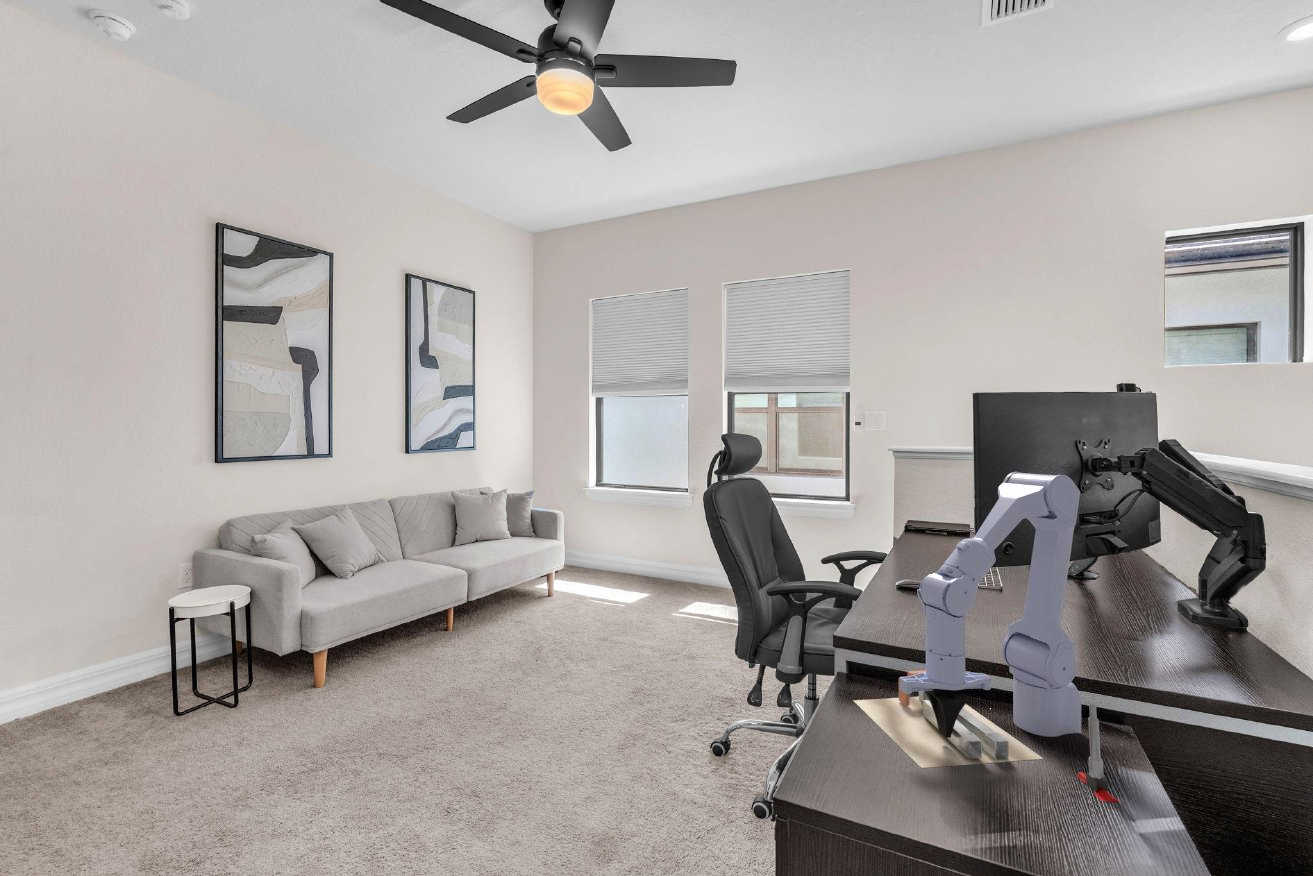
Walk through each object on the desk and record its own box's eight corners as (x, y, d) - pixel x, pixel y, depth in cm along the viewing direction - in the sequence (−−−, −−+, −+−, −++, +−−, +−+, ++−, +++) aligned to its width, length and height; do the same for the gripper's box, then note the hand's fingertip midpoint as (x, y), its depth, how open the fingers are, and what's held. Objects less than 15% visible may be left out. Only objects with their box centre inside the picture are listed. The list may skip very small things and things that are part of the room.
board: (952, 699, 112) (952, 694, 112) (1043, 765, 90) (1043, 758, 90) (853, 705, 110) (853, 700, 110) (921, 774, 87) (921, 767, 87)
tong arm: (935, 714, 103) (935, 700, 103) (981, 758, 89) (981, 741, 89) (923, 714, 103) (923, 700, 103) (968, 758, 89) (967, 741, 89)
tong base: (928, 698, 111) (928, 681, 111) (1008, 759, 90) (1008, 738, 90) (909, 699, 110) (909, 682, 110) (984, 761, 89) (984, 740, 89)
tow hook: (1054, 815, 79) (1125, 814, 78) (1049, 719, 79) (1120, 717, 78) (1018, 779, 87) (1083, 778, 87) (1014, 692, 87) (1078, 690, 87)
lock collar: (936, 697, 110) (936, 669, 110) (944, 703, 108) (944, 674, 108) (898, 700, 109) (898, 671, 109) (905, 705, 107) (905, 676, 107)
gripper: (970, 639, 99) (970, 720, 99) (889, 643, 97) (889, 724, 97) (1000, 655, 92) (999, 741, 92) (913, 659, 90) (913, 747, 90)
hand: (944, 734), depth 94 cm, fingers closed
